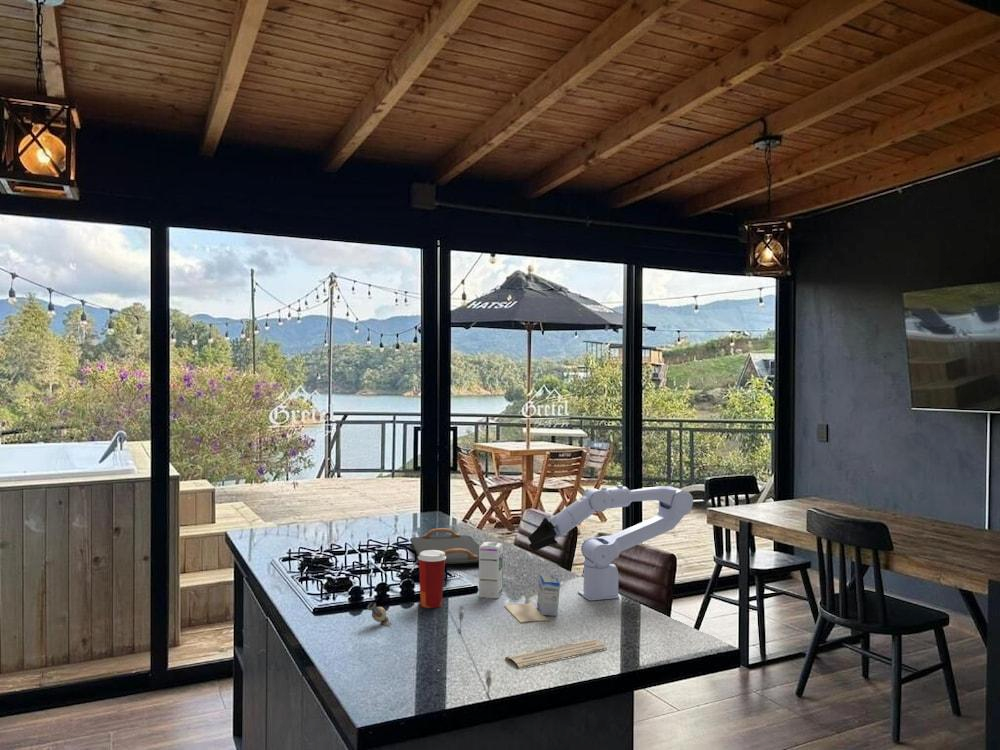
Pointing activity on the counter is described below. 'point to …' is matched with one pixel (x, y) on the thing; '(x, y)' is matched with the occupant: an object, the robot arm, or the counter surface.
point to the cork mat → (525, 613)
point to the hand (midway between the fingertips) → (530, 545)
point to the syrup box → (490, 569)
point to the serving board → (448, 546)
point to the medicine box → (548, 595)
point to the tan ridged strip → (557, 653)
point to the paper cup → (431, 577)
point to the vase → (379, 614)
